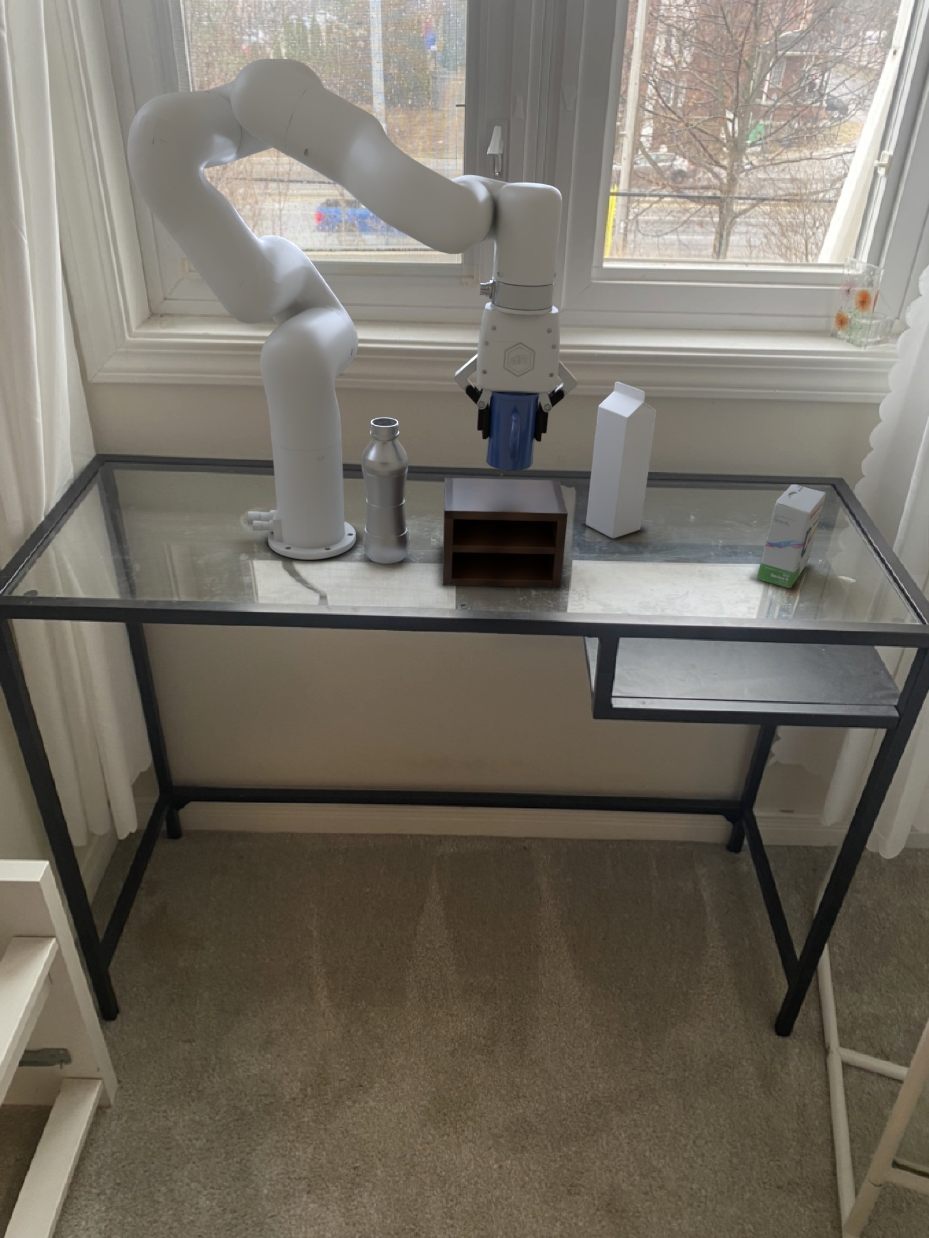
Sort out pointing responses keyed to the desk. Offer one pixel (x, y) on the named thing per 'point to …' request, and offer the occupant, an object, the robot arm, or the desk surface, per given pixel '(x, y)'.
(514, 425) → the jug
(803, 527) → the ink box
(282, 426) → the robot arm
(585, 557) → the desk surface
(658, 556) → the desk surface
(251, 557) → the desk surface
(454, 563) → the shelf
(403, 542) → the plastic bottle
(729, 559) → the desk surface
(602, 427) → the milk
